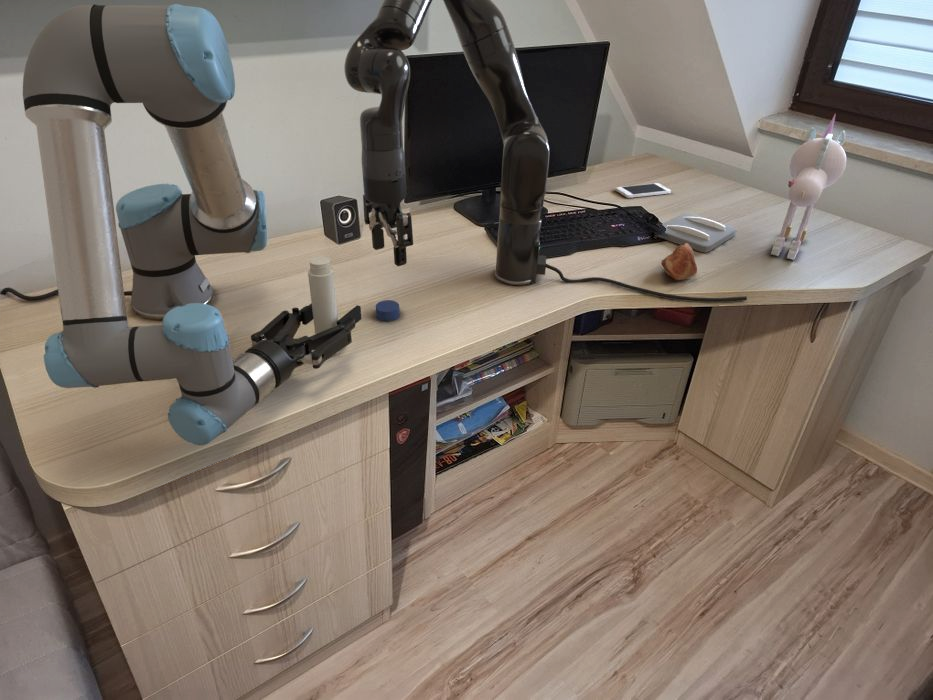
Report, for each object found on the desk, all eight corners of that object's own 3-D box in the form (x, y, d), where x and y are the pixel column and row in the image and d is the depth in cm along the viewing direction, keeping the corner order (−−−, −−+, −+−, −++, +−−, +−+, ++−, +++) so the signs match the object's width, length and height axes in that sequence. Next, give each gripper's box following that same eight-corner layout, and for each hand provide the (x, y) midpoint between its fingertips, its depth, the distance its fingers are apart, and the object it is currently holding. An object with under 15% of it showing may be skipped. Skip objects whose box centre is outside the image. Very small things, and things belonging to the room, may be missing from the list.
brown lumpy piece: (670, 275, 139) (676, 230, 139) (641, 277, 146) (647, 234, 147) (708, 285, 146) (713, 242, 146) (678, 286, 153) (683, 245, 153)
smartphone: (614, 190, 195) (615, 187, 194) (657, 185, 199) (658, 182, 199) (627, 198, 189) (628, 195, 189) (671, 193, 194) (671, 190, 193)
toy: (826, 222, 178) (867, 110, 161) (806, 269, 152) (852, 142, 135) (779, 212, 183) (814, 103, 167) (751, 256, 157) (789, 132, 141)
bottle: (332, 358, 115) (323, 267, 105) (312, 352, 117) (301, 262, 107) (345, 346, 119) (337, 257, 109) (325, 341, 120) (315, 252, 110)
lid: (379, 308, 131) (378, 299, 130) (401, 310, 130) (401, 301, 129) (373, 320, 127) (372, 310, 126) (396, 322, 126) (396, 312, 125)
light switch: (708, 241, 156) (653, 223, 165) (705, 253, 158) (650, 234, 167) (740, 223, 167) (687, 206, 176) (737, 234, 169) (684, 217, 178)
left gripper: (214, 373, 106) (300, 312, 123) (313, 408, 99) (388, 337, 117) (205, 335, 102) (295, 277, 119) (308, 368, 95) (387, 301, 113)
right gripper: (346, 164, 115) (354, 248, 123) (384, 187, 105) (390, 275, 114) (383, 157, 118) (388, 239, 127) (423, 178, 108) (426, 265, 117)
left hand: (341, 307), depth 118 cm, fingers open, 7 cm apart
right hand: (389, 256), depth 120 cm, fingers open, 8 cm apart
